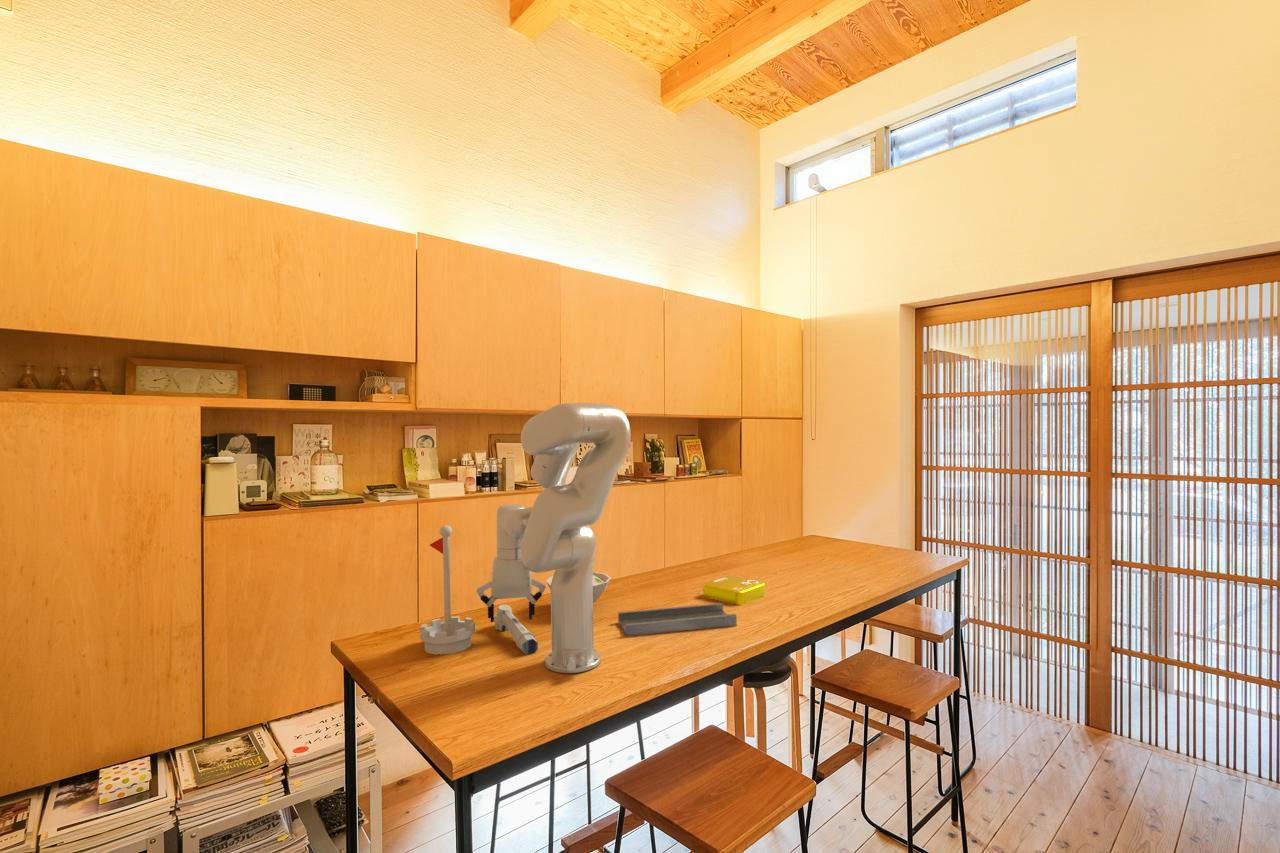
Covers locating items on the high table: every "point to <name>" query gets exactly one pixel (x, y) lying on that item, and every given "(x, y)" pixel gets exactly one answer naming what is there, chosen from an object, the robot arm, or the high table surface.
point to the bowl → (598, 584)
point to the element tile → (734, 590)
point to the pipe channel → (675, 619)
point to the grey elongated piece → (515, 629)
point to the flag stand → (446, 613)
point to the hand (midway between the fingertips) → (511, 619)
